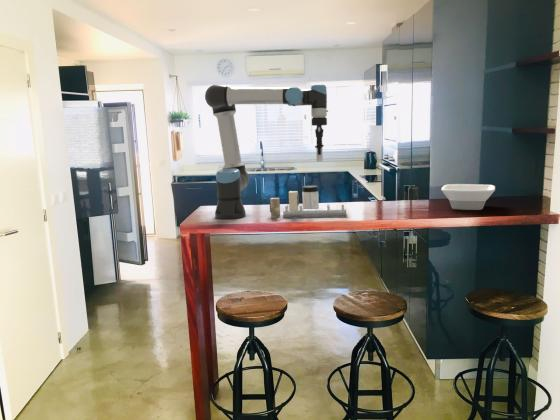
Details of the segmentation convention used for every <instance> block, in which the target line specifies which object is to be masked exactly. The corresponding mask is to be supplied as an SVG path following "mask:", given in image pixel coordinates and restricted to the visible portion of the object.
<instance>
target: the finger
mask: <svg viewBox="0 0 560 420" xmlns="http://www.w3.org/2000/svg"><path fill="white" fill-rule="evenodd" d="M280 199H281V198H280V197H270V198H269V200H270V201H269V212H270V218H271V217H274V218H280V217H281V203H280Z"/></svg>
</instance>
